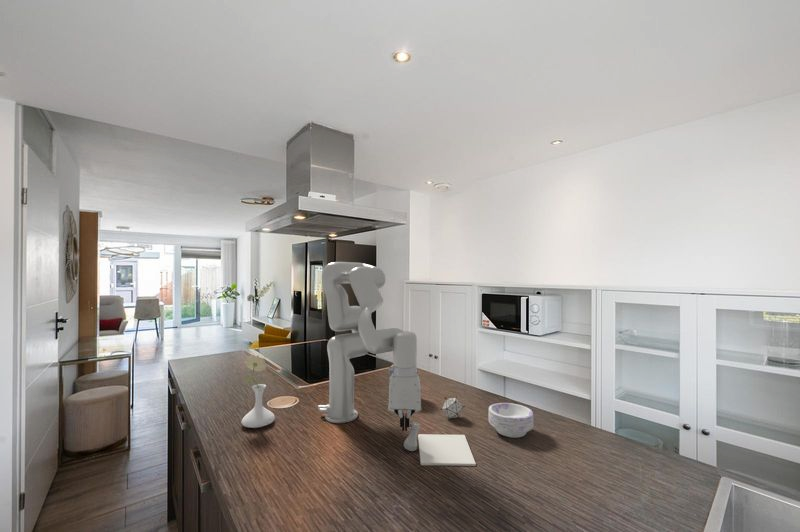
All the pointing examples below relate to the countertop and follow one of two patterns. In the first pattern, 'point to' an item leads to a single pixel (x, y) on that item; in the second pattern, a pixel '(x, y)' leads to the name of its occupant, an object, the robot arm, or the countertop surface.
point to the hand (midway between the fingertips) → (404, 429)
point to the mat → (445, 450)
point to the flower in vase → (257, 397)
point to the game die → (452, 407)
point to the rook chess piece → (412, 437)
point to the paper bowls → (511, 419)
